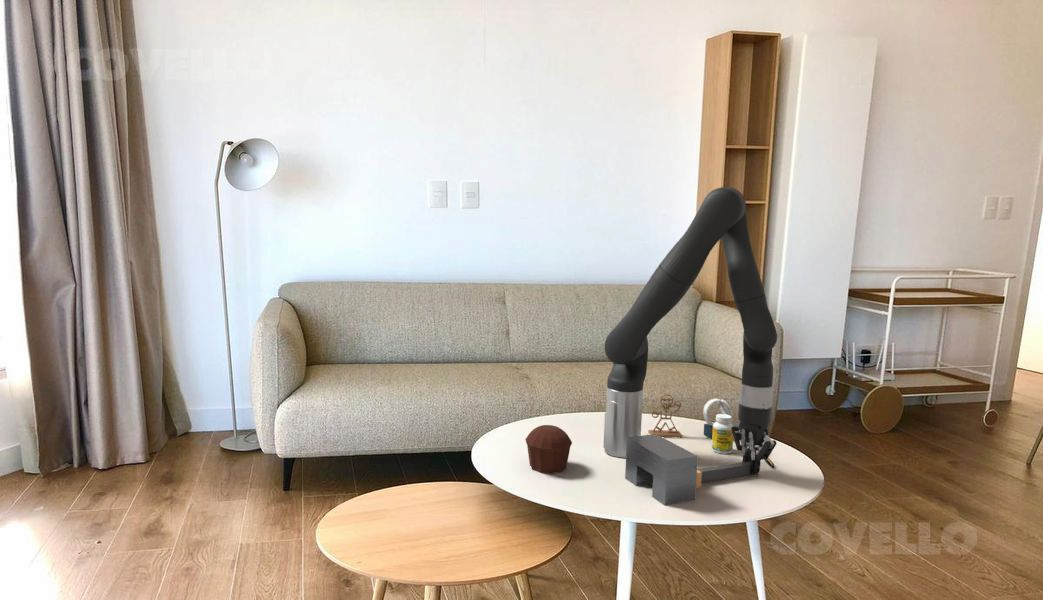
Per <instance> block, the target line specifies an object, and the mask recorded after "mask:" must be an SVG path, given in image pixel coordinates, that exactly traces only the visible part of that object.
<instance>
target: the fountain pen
mask: <svg viewBox="0 0 1043 600" xmlns="http://www.w3.org/2000/svg"><path fill="white" fill-rule="evenodd" d="M763 460H764V461H765V462H766V464H767V465H768V467H770V468H772V469H775V465H774V463H773V462H772V460H771V459H770V458H769V457H768V459H763Z"/></svg>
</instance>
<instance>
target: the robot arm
mask: <svg viewBox="0 0 1043 600" xmlns="http://www.w3.org/2000/svg"><path fill="white" fill-rule="evenodd" d="M746 202H747V201H746V199H745V196H744V195H743V193H742V192H740V191H739V190H738V189H736V188H734V187H731V186H723V187H717V188H715V189H713V190H711V191H710V192H708V194H707V195H706V196H705V198H704V199H703V201H702V203H701V205H700V207H699V209H698V210H697V212H696V213H695V216H694V217H693V220H692V221H691V222H690V225H689V227H688V228H687V229H686V231H684V233H683V235H682V236H681V238H680V239H679V240H677V242H676V243H675V244H674V245H673V246H672V248H671V249H670V250H669V252H667V254H666V255H665V257H664V258H663V259H662V260H661V262H660V264H659V265H658V266H657V267H656V268H655V270H654V271H653V273H652V275H651V276H650V277H649V279H648V281H647V282H646V284H645V286H644V287H643V288H642V289H641V291H640V293H639V295H638V296H637V297H636V300H635V301H634V303H633V304H632V306H631V308H629V310H628V312H627V313H626V314H625V315H624V316H623V317H622V318H621V320H620V321H619V322H618V323H617V324H616V326H614V328H612V330H611V331H610V332H609V334H608V335H607V336H606V339H605V340H604V341H605V342H604V347H603V348H604V354H605V356H606V358H607V359H608V360H609V361H610V362H611V363H612V368H611V370H610V373H609V374H608V376H607V381H606V382H607V383H606V384H607V385H606V386H607V387H606V406H605V407H606V411H605V413H604V424H603V425H604V426H603V427H604V428H603V448H604V453H606V454H607V455H609V456H612V457H617V458H625V459H626V448H627V437H635V436H642V420H643V419H642V418H643V399H644V398H643V396H644V384H645V383H644V382H645V379H646V375H647V370H648V360H649V359H648V358H649V357H648V356H649V341H648V340H649V339H648V335H649V334H650V333H651V331H652V329H654V327H655V326H656V325H657V324H658V323H659V322H660V321H661V320H662V319H663V318H664V317H665V316H666V315H668V313H670V311H672V310H673V309H674V308H675V307H676V306H677V304H678V303H680V301H682V299H684V297H685V295H686V294H687V292H688V291H689V290H690V288H691V287H692V285H693V284H694V282H695V281H696V279H697V278H698V276H699V274H700V273H701V270H702V268H703V266H704V264H705V262H706V261H707V258H708V256H709V255H710V253H711V251H712V250H713V248H714V247H715V246H716V244H717V243H718V242H720V239H721V242H722V245H723V250H724V254H725V259H726V269H727V275H728V279H729V285H730V290H731V293H732V297H733V300H734V305H735V306H736V309H737V311H738V313H739V315H740V320H741V323H742V327H743V328H742V329H743V335H742V343H743V344H742V347H743V349H742V351H743V352H742V353H743V354H742V355H743V362H742V363H743V364H742V371H741V383H740V388H739V395H738V397H739V398H738V399H739V400H738V410H737V411H738V412H737V419H738V421H739V424H738V425H735V426H734V425H733V427H731V430H732V433H733V442H734V443H735V447H736V450H737V451H740V452H741V455H742V461H741V462H747V461H750V464H751V465H750V474H752V475H755V476H757V475H756V474H758V475H759V473H760V472H761V471H760V470H761V461H762V460H764V459H768V458H769V457H770V455H771V454H772V452H773V451H774V449H775V447H776V446H777V441H776V440H775V439H773V440H772V439H771V437H770V436H769V435H770V434H769V433H770V432H769V429H768V428H769V425H771V422H772V410H773V397H774V395H773V381H774V366H773V361H772V357H773V349H774V347H775V346H776V344H777V342H778V333H777V329H776V325H775V323H774V319H773V317H772V314H771V312H770V309H769V307H768V302H767V297H766V292H765V289H764V286H763V281H762V278H761V275H760V272H759V268H758V265H757V262H756V258H755V255H754V252H753V251H754V250H753V248H752V244H751V239H750V233H749V228H748V227H749V226H748V220H747V219H748V217H747V203H746Z"/></svg>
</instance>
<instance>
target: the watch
mask: <svg viewBox="0 0 1043 600" xmlns="http://www.w3.org/2000/svg"><path fill="white" fill-rule="evenodd" d="M715 403H717V406H718V408H719V410H720V412H721V414H726V415H730V416H731V417H732V414H733V410H732V408H731V406H730V405H729V403H727V401H726V400H725V399H722V398H721V399H720V398H710V399H709V400H707V402H706V403H705V404H704V406H703V408H702V409H703V410H702V417H703V418H704V421H705V422H706V423H704V424H703V435H704V436H705V437H707V438H708V439H710V440H712V434H713V424H714V423H715V422H714V423H713V421H712V419H711V417H710V414H709V409H710V408H711V406H712V405H713V404H715Z"/></svg>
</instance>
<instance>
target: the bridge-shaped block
mask: <svg viewBox="0 0 1043 600" xmlns="http://www.w3.org/2000/svg"><path fill="white" fill-rule="evenodd" d="M698 459H699V456H698V455H696V453H695V454H694V453H693V452H691V451H689V450H687V449H685V448H683V447H681V446H680V445H677V444H676V443H673V441H669V440H668V439H667V438H662V437H661V436H659V435H657V434H651V435H649V434H644V435H643V434H642V435H641V436H635V437H627V448H626V458H625V472H624V473H625V474H624V479H625V480H626V481H628V482H630V483H631V484H632V485H634V486H636V487H637V486H644V485H645V486H646V485H651V484H652V493H651V497H652V498H653V499H654V500H656V501H658V502H659V503H661V504H662V505H663V506H667V505H669V506H670V505H674V504H680V503H685V502H691V501H696V492H697V488H696V479H697V469H698Z"/></svg>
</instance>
